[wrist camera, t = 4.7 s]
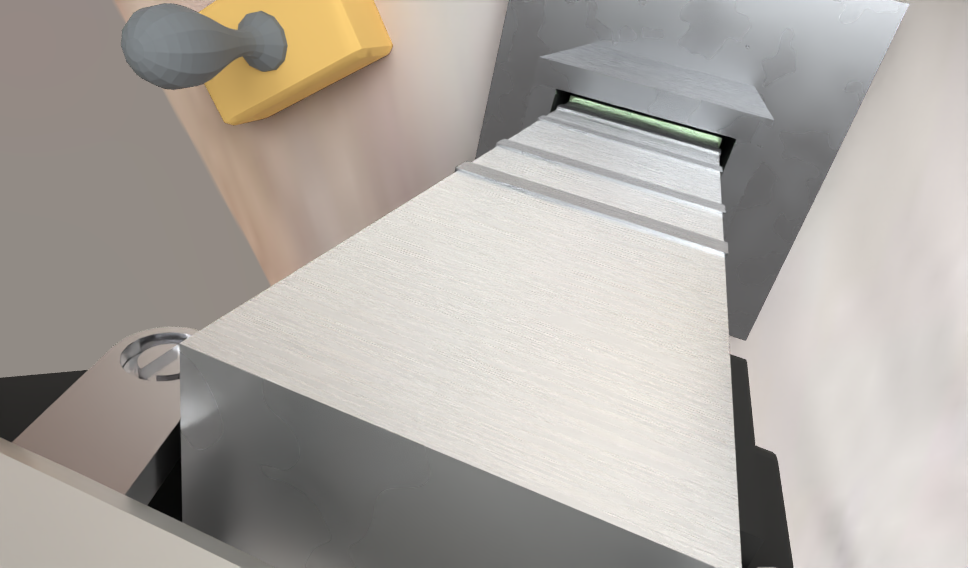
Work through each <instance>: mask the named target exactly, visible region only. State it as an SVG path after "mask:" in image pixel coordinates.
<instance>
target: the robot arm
mask: <svg viewBox="0 0 968 568" xmlns="http://www.w3.org/2000/svg"><path fill="white" fill-rule="evenodd" d="M198 331H199V330H195V329H192V328H184V327H157V328H153V329H148V330H143V331H140V332H137V333H135V334H132V335H130V336H127V337H125V338H124V339H122V340H121V341H119V342H118V343H117V344H115V345H114V346H113V347H112V348H111V349H110V350H109V351H108V352H107V353H106V354H104V355H103V356H102V357H101V358H100V359H99V360H98V361H97V362H96V363H95V364H94V365H93V366H92V367H91V368H90V369H89V370H83V371H72V372H61V373H50V374H38V375H27V376H17V377H5V378H0V568H276V567H274V566H272V565H270V564H268V563H266V562H264V561H262V560H260V559H258V558H256V557H254V556H251V555H249V554H247V553H245V552H243V551H241V550H239V549H237V548H235V547H233V546H231V545H229V544H227V543H224V542H222V541H220V540H218V539H216V538H214V537H212V536H210V535H208V534H206V533H203V532H201V531H199V530H197V529H195V528H193V527H191V526H189V525H187V524H185V523H182V470H181V414H180V357H179V343H181V342H182V341H184V340H186V339H187V338H189V337H190V336H192V335H194V334H195V333H197V332H198ZM730 365H731V383H732V401H733V419H734V437H735V455H736V473H737V491H738V509H739V527H740V545H741V564H742V568H793V561H792V554H791V548H790V541H789V534H788V527H787V520H786V514H785V507H784V500H783V493H782V486H781V479H780V473H779V466H778V460H777V457H776V455H775V454H774V453H773V452H771V451H768V450H766V449H763V448H760V447H758V446H755V438H754V428H753V418H752V408H751V398H750V388H749V378H748V368H747V361H746V360H745V359H742V358H739V357H737V356H734V355H731V354H730Z"/></svg>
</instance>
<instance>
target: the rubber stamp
mask: <svg viewBox="0 0 968 568" xmlns="http://www.w3.org/2000/svg"><path fill="white" fill-rule="evenodd" d="M121 47H122V50H123V53H124V55H125V59H126V62H127V63H128V64H129V65H130V67H131V68H132V69H133V70H134V72H135V73H136V74H137V75H138V76H139V77H141V78H142V79H144V80H146V81H148V82H150V83H152V84H154V85H156V86H158V87H161V88H164V89H172V90H175V89H182V88H188V87H194V86H198V85H201V84H205V86H206V88H207V90H208V92H209V94H210V96H211V98H212V100H213V101H214V103H215V105H216V107H217V109H218V111H219V113H220V115H221V117H222V119H223V121H224V123H228V124H231V125H238V124H243V123H247V122H251V121H256V120H260V119H264V118H267V117H269V116H271V115H273V114H275V113H277V112H279V111H281V110H283V109H285V108H287V107H289V106H290V105H292V104H294V103H296V102H298V101H300V100H302V99H304V98H306V97H308V96H310V95H312V94H313V93H315V92H317V91H319V90H321V89H323V88H325V87H327V86H329V85H331V84H333V83H334V82H336V81H338V80H340V79H342V78H344V77H346V76H348V75H350V74H352V73H354V72H356V71H357V70H359V69H361V68H363V67H365V66H367V65H369V64H371V63H373V62H375V61H377V60H378V59H380V58H382V57H384V56H386V55H388V54H389V53H390V51H391V49H392V47H393V44H392V42H391V40H390V37H389V35H388V33H387V30H386V28H385V26H384V24H383V21H382V19H381V17H380V14H379V12H378V10H377V7H376V5H375V3H374V0H216V1H215V2H213V3H212V4H210V5H209V6H207V7H206V8H204V9H203V10H201V11H200V12H196V11H194V10H192V9H190V8H187V7H184V6H181V5H177V4H165V3H164V4H159V5H155V6H151V7H146V8H142V9H139V10H138V11H136V12H134V13H133V15H132V16H131V17H130V19H129V20H128V22H127V23H126V25H125V26H124V28H123V30H122V40H121Z"/></svg>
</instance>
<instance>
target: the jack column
mask: <svg viewBox="0 0 968 568" xmlns="http://www.w3.org/2000/svg"><path fill="white" fill-rule="evenodd" d="M721 140H722V135H721V134H717V133H714V132H710V131H706V130H703V129H699V128H696V127H692V126H688V125H685V124H681V123H678V122H674V121H671V120H667V119H663V118H660V117H656V116H653V115H649V114H645V113H642V112H638V111H635V110H631V109H628V108H624V107H620V106H617V105H613V104H610V103H606V102H603V101H599V100H595V99H592V98H588V97H585V96H581V95H577V94H573V95H571V96H570V100H569V102H568V103H566V104H564V105H563V104H560V105H558V106H557V109H556V110H555V111H553V112H552V113H550V114H548V115H547V116H544V115H542V116H540V117H539V118H537V122H535V123H534V124H532V125H531V126H529V127H527V128H526V129H524V130H523V131H521V132H519V133H518V134H516V135H514V136H513V137H511V138H510V139H508V140H507V139H502V140H500V141H499V142H497V143H496V145H495V148H494V149H492V150H490V151H489V152H487V153H485V154H484V155H482V156H481V157H479V158H477V159H476V160H474V161H473V162H469V161H466V162H464V163H462V164H461V165H459V166H457V167H456V169H455V173H453V174H452V175H450V176H448V177H447V178H445V179H444V180H442V181H440V182H439V183H437V184H435V185H434V186H432V187H431V188H429V189H427V190H426V191H424V192H423V193H421V194H419V195H418V196H416V197H415V198H413V199H411V200H410V201H408V202H406V203H405V204H403V205H402V206H400V207H398V208H397V209H395V210H394V211H392V212H390V213H389V214H387V215H385V216H384V217H382V218H381V219H379V220H377V221H376V222H374V223H373V224H371V225H369V226H368V227H366V228H365V229H363V230H361V231H360V232H358V233H356V234H355V235H353V236H352V237H350V238H348V239H347V240H345V241H344V242H342V243H340V244H339V245H337V246H336V247H334V248H332V249H331V250H329V251H327V252H326V253H324V254H323V255H321V256H319V257H318V258H316V259H315V260H313V261H311V262H310V263H308V264H306V265H305V266H303V267H302V268H300V269H298V270H297V271H295V272H294V273H292V274H290V275H289V276H287V277H286V278H284V279H282V280H281V281H279V282H277V283H276V284H274V285H273V286H271V287H269V288H268V289H266V290H265V291H263V292H261V293H260V294H258V295H257V296H255V297H253V298H252V299H250V300H248V301H247V302H245V303H244V304H242V305H240V306H239V307H237V308H236V309H234V310H232V311H231V312H229V313H228V314H226V315H224V316H223V317H221V318H219V319H218V320H216V321H215V322H213V323H211V324H210V325H208V326H207V327H205V328H203V329H202V330H200V331H198V332H197V333H195V334H194V335H192V336H190V337H189V338H187V339H186V340H184V341H182V342H181V343H179V357H180V414H181V470H182V523H185V524H187V525H189V526H191V527H193V528H195V529H197V530H199V531H201V532H203V533H206V534H208V535H210V536H212V537H214V538H216V539H218V540H220V541H222V542H224V543H227V544H229V545H231V546H233V547H235V548H237V549H239V550H241V551H243V552H245V553H247V554H249V555H251V556H254V557H256V558H258V559H260V560H262V561H264V562H266V563H268V564H270V565H272V566H274V567H276V568H742V564H741V545H740V527H739V509H738V491H737V473H736V455H735V437H734V419H733V401H732V383H731V365H730V347H729V328H728V310H727V292H726V274H725V261H726V258H727V256H728V242H725V241H724V238H723V218H724V215H725V213H726V212H725V205H723V204H722V202H721V184H720V177H721V175H722V172H723V171H722V167H721V166H719V157H720V155H721V149H719V145H720V143H721Z"/></svg>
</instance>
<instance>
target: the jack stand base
mask: <svg viewBox="0 0 968 568" xmlns="http://www.w3.org/2000/svg"><path fill="white" fill-rule="evenodd" d="M909 5H910V4H908V3H903V2H899V1H894V0H509V2H508V7H507V12H506V17H505V21H504V26H503V31H502V35H501V40H500V45H499V50H498V54H497V59H496V64H495V69H494V73H493V78H492V83H491V87H490V92H489V97H488V102H487V106H486V111H485V116H484V120H483V125H482V130H481V135H480V139H479V144H478V149H477V153H476V158H475V160H476V159H477V158H479V157H481V156H482V155H484V154H485V153H487V152H489V151H490V150H492V149H494V148H495V145H496V143H497V142H499V141H500V140H502V139H507V140H508V139H510V138H511V137H513V136H514V135H516V134H518V133H519V132H521V131H523V130H524V129H526V128H527V127H529V126H531V125H532V124H534V123H535V122H537V118H539V117H540V116H542V115H544V116H547V115H548V114H550V113H552V112H553V111H555V110H556V109H557V106H558V105H560V104H563V105H564V104H566V103H568V102H569V100H570V96H571V95H573V94H577V95H581V96H585V97H588V98H592V99H595V100H599V101H603V102H606V103H610V104H613V105H617V106H620V107H624V108H628V109H631V110H635V111H638V112H642V113H645V114H649V115H653V116H656V117H660V118H663V119H667V120H671V121H674V122H678V123H681V124H685V125H688V126H692V127H696V128H699V129H703V130H706V131H710V132H714V133H717V134H721V135H722V140H721V143H720V145H719V149H721V155H720V157H719V166H721V167H722V171H723V172H722V175H721V177H720V184H721V202H722V204H723V205H725V212H726V213H725V215H724V218H723V238H724V241H725V242H728V256H727V258H726V261H725V274H726V292H727V310H728V328H729V335H730V336H733V337H736V338H739V339H742V340H745V341H746V339H747V337H748V335H749V333H750V331H751V329H752V327H753V325H754V323H755V321H756V319H757V317H758V314H759V312H760V310H761V308H762V306H763V304H764V302H765V300H766V298H767V296H768V294H769V292H770V290H771V288H772V286H773V284H774V282H775V280H776V278H777V275H778V273H779V271H780V269H781V267H782V265H783V263H784V261H785V259H786V257H787V255H788V253H789V251H790V249H791V247H792V245H793V243H794V241H795V239H796V236H797V234H798V232H799V230H800V228H801V226H802V224H803V222H804V220H805V218H806V216H807V214H808V212H809V210H810V208H811V206H812V204H813V202H814V200H815V197H816V195H817V193H818V191H819V189H820V187H821V185H822V183H823V181H824V179H825V177H826V175H827V173H828V171H829V169H830V167H831V165H832V163H833V161H834V158H835V156H836V154H837V152H838V150H839V148H840V146H841V144H842V142H843V140H844V138H845V136H846V134H847V132H848V130H849V128H850V126H851V124H852V122H853V119H854V117H855V115H856V113H857V111H858V109H859V107H860V105H861V103H862V101H863V99H864V97H865V95H866V93H867V91H868V89H869V87H870V85H871V83H872V80H873V78H874V76H875V74H876V72H877V70H878V68H879V66H880V64H881V62H882V60H883V58H884V56H885V54H886V52H887V50H888V48H889V46H890V44H891V41H892V39H893V37H894V35H895V33H896V31H897V29H898V27H899V25H900V23H901V21H902V19H903V17H904V15H905V13H906V11H907V9H908V7H909Z"/></svg>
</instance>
